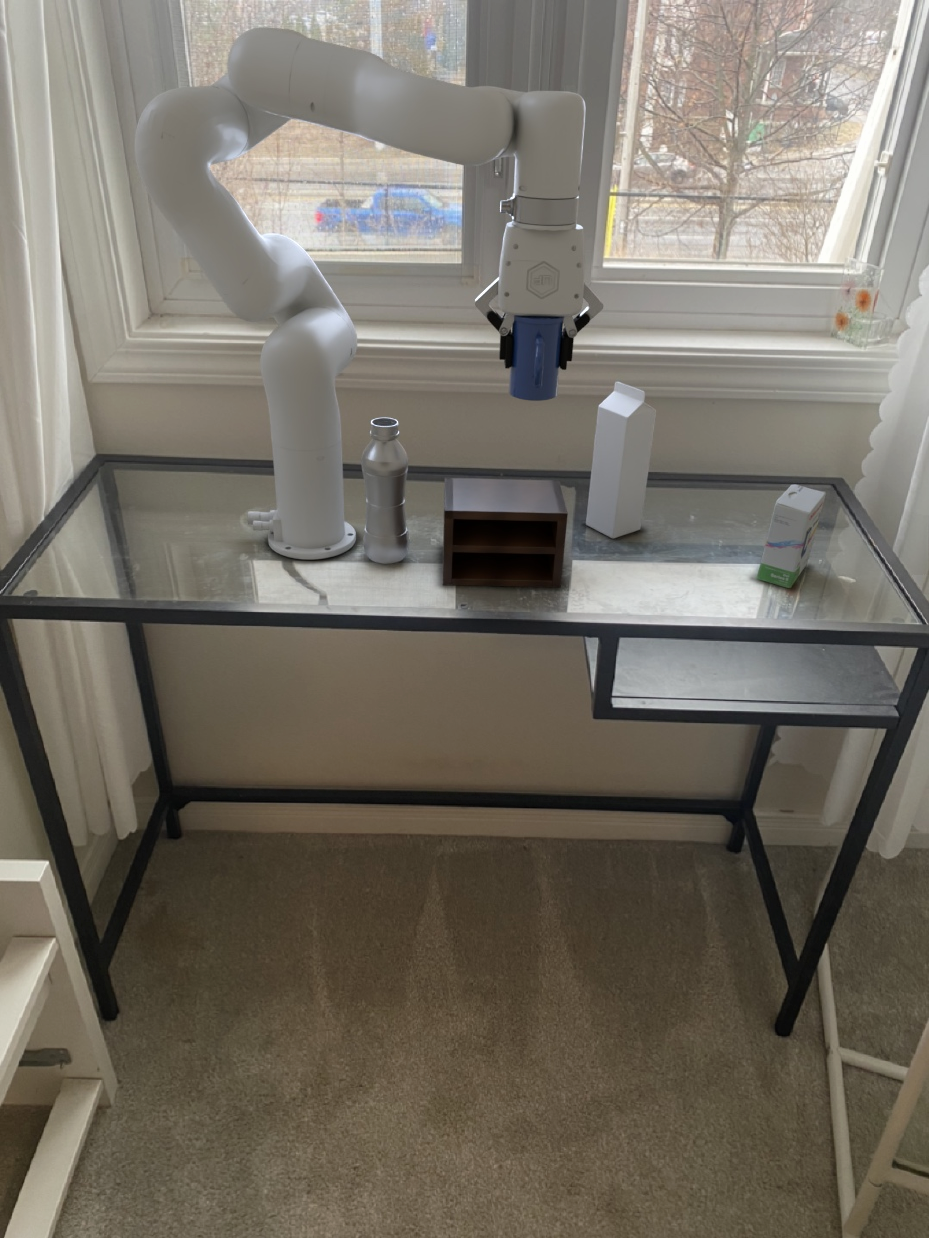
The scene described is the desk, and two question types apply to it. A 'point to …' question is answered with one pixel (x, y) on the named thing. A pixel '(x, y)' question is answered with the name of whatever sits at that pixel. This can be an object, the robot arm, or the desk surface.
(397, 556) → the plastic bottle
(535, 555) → the shelf
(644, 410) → the milk
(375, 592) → the desk surface
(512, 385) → the jug
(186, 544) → the desk surface
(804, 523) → the ink box
